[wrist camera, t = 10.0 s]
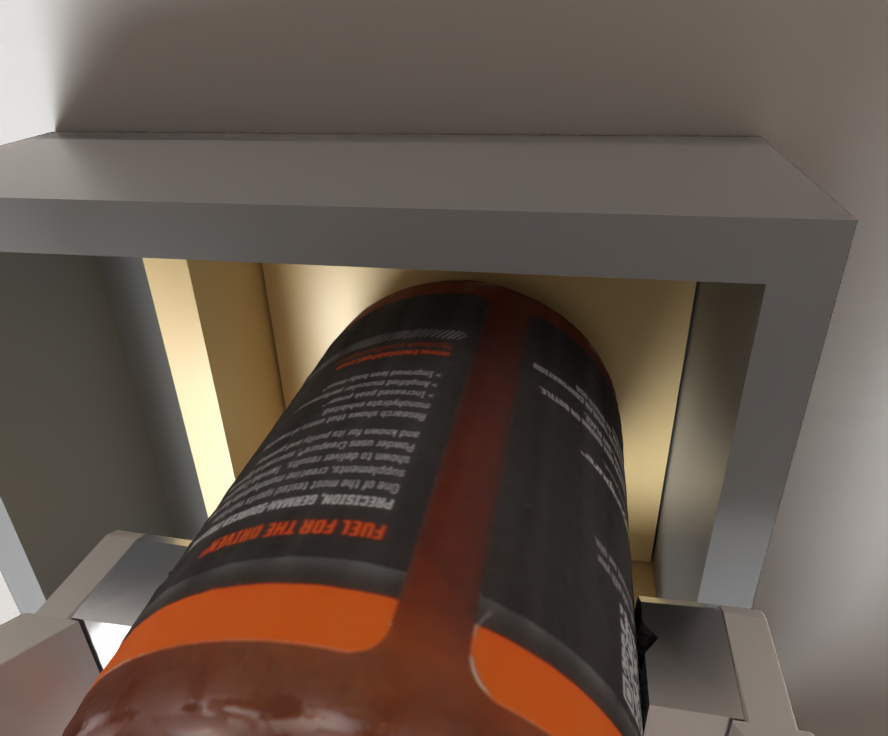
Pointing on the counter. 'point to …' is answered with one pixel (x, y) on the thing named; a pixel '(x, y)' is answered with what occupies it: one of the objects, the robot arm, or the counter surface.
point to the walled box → (378, 275)
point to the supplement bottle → (407, 547)
